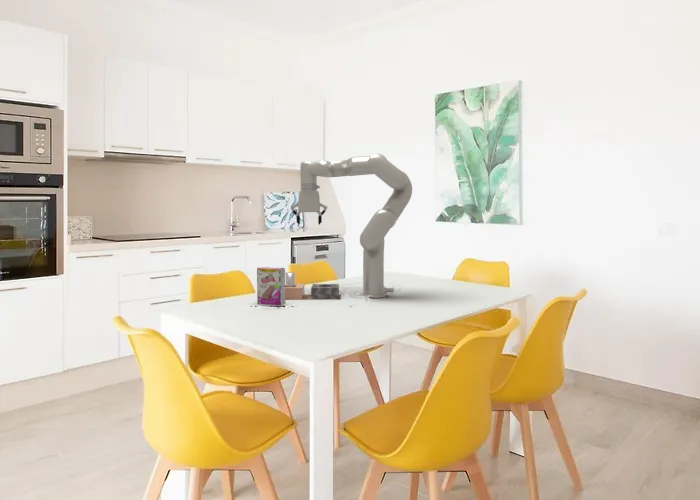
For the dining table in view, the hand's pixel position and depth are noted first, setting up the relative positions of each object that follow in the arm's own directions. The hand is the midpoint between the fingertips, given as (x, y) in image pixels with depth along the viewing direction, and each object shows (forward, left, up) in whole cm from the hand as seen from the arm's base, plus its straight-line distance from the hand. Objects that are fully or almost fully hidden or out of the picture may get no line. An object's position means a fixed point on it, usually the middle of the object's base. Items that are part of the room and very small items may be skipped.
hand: (309, 224), depth 260 cm
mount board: (0, +13, -33) cm, 36 cm away
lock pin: (+8, +13, -32) cm, 36 cm away
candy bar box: (+14, +29, -34) cm, 47 cm away
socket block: (+8, +13, -32) cm, 36 cm away
